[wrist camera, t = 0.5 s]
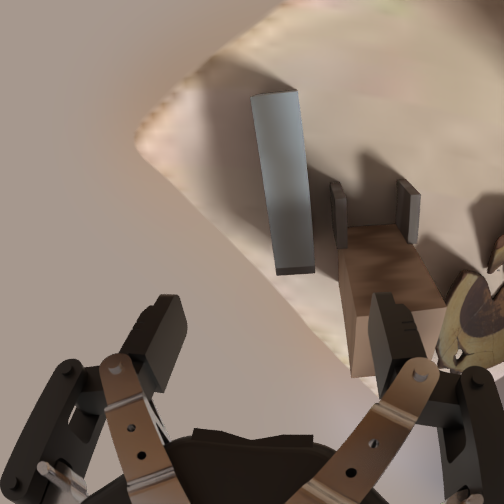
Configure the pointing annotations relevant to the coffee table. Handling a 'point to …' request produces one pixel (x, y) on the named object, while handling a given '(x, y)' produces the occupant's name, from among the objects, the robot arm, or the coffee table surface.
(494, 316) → the cracked wood slice
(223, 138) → the coffee table surface
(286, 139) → the gray rectangular block
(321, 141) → the coffee table surface
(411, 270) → the dark u-channel
